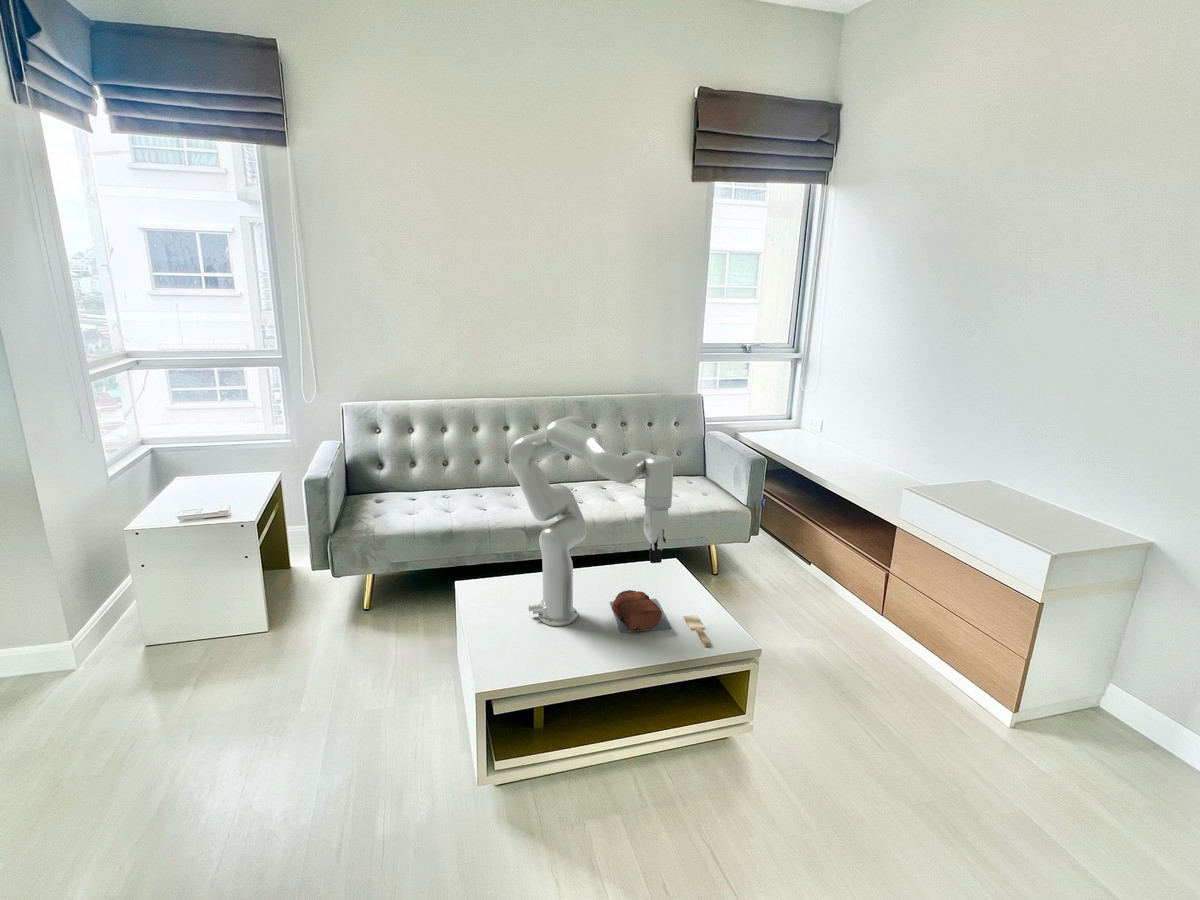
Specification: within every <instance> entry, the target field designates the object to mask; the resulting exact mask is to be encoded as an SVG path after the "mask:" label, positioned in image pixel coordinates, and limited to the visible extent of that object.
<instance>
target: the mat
mask: <svg viewBox="0 0 1200 900" xmlns="http://www.w3.org/2000/svg"><path fill="white" fill-rule="evenodd" d="M649 599H650V600H652V601H653V602H655V603H656V604H657V605H658V607H659V608H660V610H661V612H662V616H661V618H660V621H659V622H658V624H657V625H656V626H655V627H654V628H652V629H646V630H643V631H642V632H647V631H659V630H672V625H671V624H670V622H669V620H668V618H667V617H666V615H665V612H664V611H663V609H662V607H661V605H660V603H659V600H658V599H657V598H649ZM613 602H614V600H612V601H609V605H610V608H611V611H612V614H613V616H614V619H615V623H616V624H617V627H618V630H619V633H633V632H634V633H635V632H640V631H639V630H636V631H631V630H630V629H629V627H628V626H627V624H626V623H625V622H623V621H621V620H620V619H619V618H618V617H617V615H616V614H615V612H614V611H613V610H612V604H613Z"/></svg>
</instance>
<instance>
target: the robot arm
mask: <svg viewBox="0 0 1200 900" xmlns="http://www.w3.org/2000/svg"><path fill="white" fill-rule="evenodd" d="M602 443H603V442H602V436H601V435H600V434H598V433H597V432H594V431H592V430H589V429H588V426H587V423H586V422H585V421H584V420H583V419H582V418H581V417H579V416H575V415H571V416H566V417H562V418H559V419H555V420H553V421H551V422H550V423H549V424H548V426H547V427H546V428H545V429H544V430H542V431H541V430H540V431H539V432H535V433H531V434H528V435H524V436H522V437H520V438H518V439H517V440H515V442H513V444H511V447H510V448H509V453H508V463H509V466H510V468H511V471H512V473H513V475H514V477H515V478H516V481H517V482H518V483H519V485H520V488H521V491H522V493H523V495H524V498H525V500H526V502H527V506H528V507H529V510H530V512H531V514H532V515H533V518H535V520H537V521H539V522H547V521H549V520H553V519H554V518H556V519H557V520H556V521H553V522H552V523H551V524H550V523H549V524H548V525H547V526H545V527H544V528H543V529H542V531H541V532H540V534H539V536H538V537H539V541H538V542H539V547H540V553H541V559H542V564H541V565H542V600H541V603H538V604H529V605H528V612H532V615H537V617H538V620H539V621H540V622H541V623H543V624H546V625H548V626H554V627H556V626H557V627H561V626H562V627H563V626H567V625H569V624H571V623H574V622H575V621H576V620H577V618H578V614H579V613H578V610H577V608H575V607H573V606H574V603H573V602H574V601H573V600H574V594H573V593H574V591H573V590H574V586H573V585H574V566H573V565H574V564H573V560H572V557H571V555H570V549H572V548H573V547H575V546H576V545H578V544H580V543H581V542H582V541H584V540H585V539H586V536H587V533H588V530H587V528H588V527H587V523H586V520H585V519H584V516H583V514H582V511H581V508H580V506H579V505H578V502H577V499H576V497H575V496H574V494H573V492H572V491H571V489H570V488H568V487H567V486H565V485H564V484H560V483H559V484H557V483H556V484H553V485H551V484H550V482H549V481H548V477H547V476H546V473H545V472H544V471H543V469H541V467H540V466H538V465H537V462H538V461H542V460H545V459H548V458H550V457H553V456H556V455H558V454H560V453H562V452H565V453H567V454H569V455H572V456H574V457H577V458H579V459H581V460H584V461H586V462H587V465H588V466H589V467H590V469H592V470H593V472H595V473H596V474H598V475H599V476H601V477H603V478H606V479H607V480H610V481H612V482H614V483H617V484H622V485H626V484H631V483H632V482H634V481H637V480H638V479H639V480H640V479H642V478H645V479H644V480H645V481H644V505H643V506H644V507H645V511H644V521H643V533H644V535H645V537H646V539H647V541H648V542H649V557H648V560H649V562H650V564H661V563H662V558H663V557H662V556H663V549H664V544H666V543H668V540H669V509H671V507H672V504H673V503H672V500H673V499H672V498H673V481H674V460H673V458H671V457H669V456H666V455H656V454H653V453H650V452H647V451H645V450H634V451H632V452H629V453H627V454H624V455H622V456H620V455H617V454H615V453H612V452H610V451H607V450H606V449H604V448H603V447H602Z"/></svg>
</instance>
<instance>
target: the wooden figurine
mask: <svg viewBox="0 0 1200 900" xmlns="http://www.w3.org/2000/svg"><path fill="white" fill-rule="evenodd" d="M650 599H651V598H650V596H649V595H648V594H647V593H645V592H643V591H636V590H631V589H629V590H623V591H621V592H619V593H618V594H617V595H616V596H615V599H614V600H613V601H614V602H613V604H612V608H611V611H612V610H613V611H614V612H615V614H616V615H617V617H618V618H619V619H620V620H621V621H623V622H625V623H626V624H627V626H628V627H629V629H630V630H631V631H635V632H637V631H636V630H639V631H638V632H644V631H643V630H646V629H652V628H654V627H655V626H656V625H657V624H658V622H659V621H660V618H661V616H662V612H661V610H660V608H659V607H658V605H657V604H656V603H655V602H653V601H652V600H650ZM613 611H612V612H613Z"/></svg>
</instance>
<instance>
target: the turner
mask: <svg viewBox="0 0 1200 900" xmlns="http://www.w3.org/2000/svg"><path fill="white" fill-rule="evenodd" d="M682 617H683V620H684V621H685V623H686V625H687V626H688V628H689V630H690V631H695V632H696V634H697V636H698V637H699V639H700V641H701V643H702V644H703V646H704V647H705V648H710V646H711V645H712V643H711V642H710V640H709V638H708V637H707V635H706V634H705V632H704V631H703V630H705V626H704V624H703V623H702V622H701V620H700V619H699V617H698V616H697V614H693V615H692V614H690V615H689V614H688V615H683V616H682ZM711 647H712V646H711Z"/></svg>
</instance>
